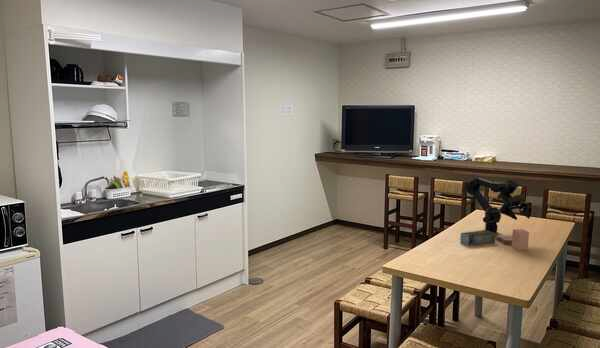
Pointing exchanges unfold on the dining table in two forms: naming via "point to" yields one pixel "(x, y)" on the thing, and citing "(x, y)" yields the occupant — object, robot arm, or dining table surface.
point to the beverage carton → (477, 237)
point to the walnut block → (504, 239)
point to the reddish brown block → (520, 239)
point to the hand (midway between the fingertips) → (523, 218)
